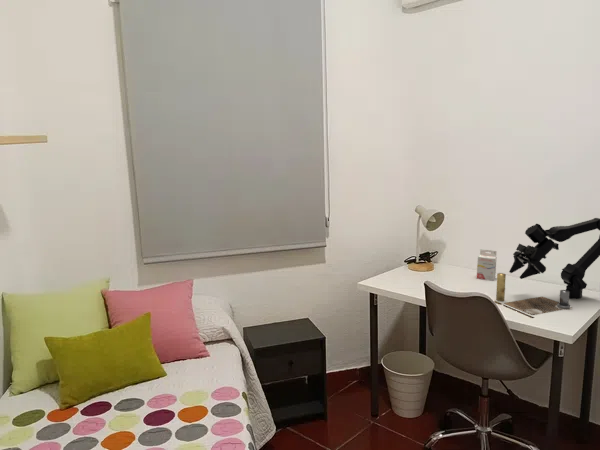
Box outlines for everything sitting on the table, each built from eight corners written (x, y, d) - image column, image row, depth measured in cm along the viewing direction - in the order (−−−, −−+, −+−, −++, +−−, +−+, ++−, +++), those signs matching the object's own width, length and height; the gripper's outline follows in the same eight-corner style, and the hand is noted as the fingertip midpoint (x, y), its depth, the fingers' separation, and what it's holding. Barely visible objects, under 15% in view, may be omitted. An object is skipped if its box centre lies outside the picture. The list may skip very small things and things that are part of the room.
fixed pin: (563, 304, 208) (564, 288, 207) (572, 308, 204) (574, 292, 202) (554, 306, 206) (555, 290, 205) (564, 309, 202) (565, 293, 201)
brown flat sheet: (542, 299, 219) (542, 296, 219) (575, 311, 203) (575, 308, 203) (503, 305, 212) (503, 303, 212) (534, 319, 196) (534, 316, 196)
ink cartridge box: (476, 278, 253) (477, 250, 250) (478, 276, 257) (479, 248, 254) (493, 280, 248) (495, 252, 246) (495, 278, 252) (497, 250, 250)
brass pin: (500, 300, 219) (501, 272, 217) (508, 303, 215) (509, 274, 213) (491, 301, 218) (493, 273, 215) (499, 304, 213) (501, 276, 211)
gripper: (518, 233, 221) (493, 258, 222) (540, 242, 202) (513, 268, 204) (534, 249, 223) (509, 274, 224) (557, 260, 204) (530, 286, 206)
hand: (515, 275), depth 214 cm, fingers open, 9 cm apart
